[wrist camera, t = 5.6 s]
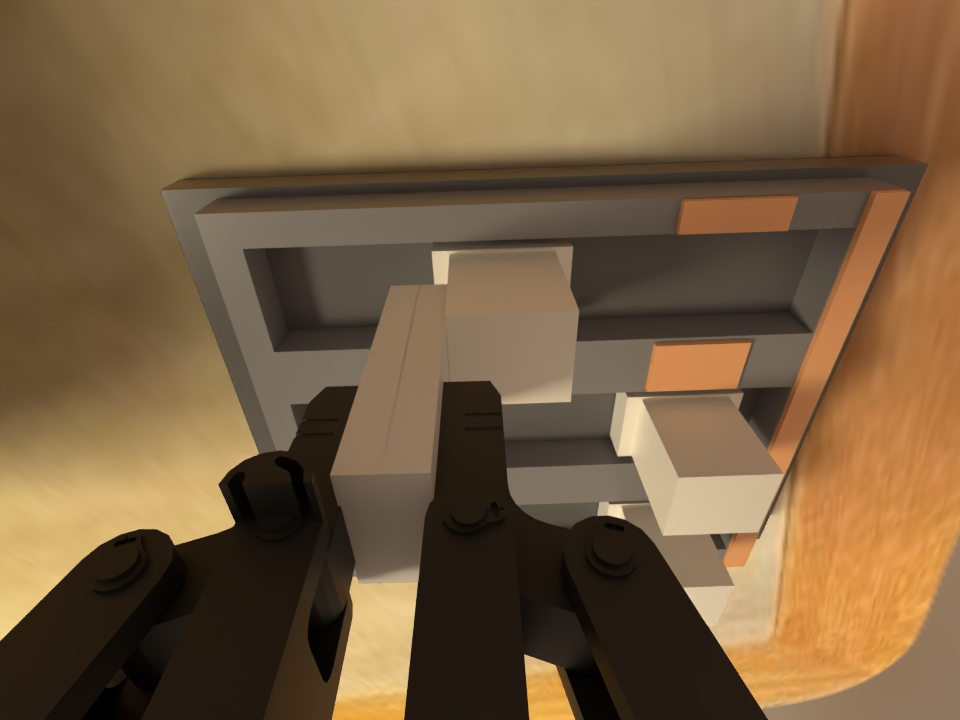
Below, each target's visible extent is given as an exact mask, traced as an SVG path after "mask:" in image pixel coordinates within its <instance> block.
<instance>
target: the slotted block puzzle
mask: <svg viewBox="0 0 960 720" xmlns="http://www.w3.org/2000/svg"><path fill="white" fill-rule="evenodd" d="M927 166H928V164H926V163H923V162H919V161H916V160H913V159H909V158H906V157H902V156H899V155H890V156H861V157H832V158H802V159H773V160H744V161H715V162H686V163H656V164H627V165H598V166H569V167H540V168H510V169H481V170H452V171H423V172H394V173H364V174H335V175H306V176H277V177H248V178H218V179H189V180H179V181H177V182H175V183H173V184H171V185H169V186H167V187H165V188H164V189H162V190H160V192H161V195H162V197H163V200H164V203H165V205H166V208H167V211H168V213H169V216H170V219H171V221H172V224H173V227H174V229H175V232H176V235H177V237H178V240H179V242H180V245H181V248H182V250H183V253H184V256H185V258H186V261H187V264H188V266H189V269H190V272H191V274H192V277H193V280H194V282H195V285H196V287H197V290H198V293H199V295H200V298H201V301H202V303H203V306H204V309H205V311H206V314H207V317H208V319H209V322H210V325H211V327H212V330H213V332H214V335H215V338H216V340H217V343H218V346H219V348H220V351H221V354H222V356H223V359H224V362H225V364H226V367H227V369H228V372H229V375H230V377H231V380H232V383H233V385H234V388H235V391H236V393H237V396H238V399H239V401H240V404H241V407H242V409H243V412H244V414H245V417H246V420H247V422H248V425H249V428H250V430H251V433H252V436H253V438H254V441H255V444H256V446H257V449H258V452H259V454H261V453H266V452H272V451H279V450H282V451H288V450H289V448H290V446H291V443H292V441H293V439H294V438H296V432H297V430H298V427H299V425H300V423H302V418H303V416H304V414H305V412H306V409H307V407H308V405H309V402H310V401H311V400H312V399H313V398H314V397H316V396H317V395H318V394H319V393H320V392H321V391H322V390H323V389H324V388H325V387H330V386H359V383H360V380H361V377H362V374H363V371H364V368H365V365H366V362H367V358H368V355H369V352H370V349H371V346H372V343H373V340H374V337H375V334H376V330H377V327H378V324H379V321H380V318H381V315H382V312H383V309H384V306H385V302H386V299H387V296H388V293H389V290H390V287H391V286H398V285H434V274H433V262H432V246H433V242H459V241H488V240H516V239H545V238H569V239H570V241H571V243H572V245H573V256H572V269H571V281H570V288H571V291H572V293H573V296H574V298H575V301H576V304H577V306H578V309H579V319H578V329H577V340H576V351H575V361H574V372H573V383H572V393H571V402H555V403H527V404H502V416H503V429H504V440H505V453H506V466H507V478H508V487H509V491H510V495H511V496H512V498H513V500H514V502H515V503H516V504H517V505H518V506H519V507H520V508H521V509H522V510H523V511H524V512H525V513H527V514H528V515H530V516H531V517H533V518H534V519H537V520H540V521H542V522H545V523H548V524H552V525H556V526H559V527H563V528H567V529H571V528H572V527H573V526H574V525H575V524H576V523H577V522H579V521H581V520H584V519H586V518H588V517H590V516H597V513H598V507H599V502H614V501H642V500H649V499H648V496H647V494H646V491H645V489H644V486H643V483H642V481H641V478H640V476H639V473H638V470H637V468H636V465H635V463H634V460H633V457H632V456H617V454H616V451H615V448H614V445H613V442H612V439H611V437H610V430H611V424H612V418H613V411H614V405H615V398H616V393H625V392H658V391H686V390H714V389H738V388H740V389H741V390H742V392H743V393H744V394H743V397H742V400H741V403H740V406H739V409H738V410H739V412H740V413H741V414H742V416H743V417H744V419H745V420H746V421H747V423H748V424H749V426H750V427H751V428H752V430H753V431H754V433H755V434H756V435H757V437H758V438H759V440H760V441H761V442H762V444H763V445H764V447H765V448H766V449H767V451H768V452H769V454H770V455H771V456H772V458H773V459H774V461H775V462H776V463H777V465H778V466H779V468H780V469H781V470H782V472H783V473H784V475H783V477H782V480H781V482H780V484H779V486H778V489H777V491H776V493H775V495H774V498H773V500H772V502H771V504H770V507H769V509H768V511H767V513H766V516H765V518H764V520H763V523H762V525H761V527H760V529H759V532H752V533H725V534H710V536H711V538H712V540H713V542H714V544H715V546H716V548H717V550H718V553H719V555H720V557H721V559H722V561H723V563H724V565H725V567H738V566H745V564H746V561H747V559H748V557H749V555H750V552H751V550H752V548H753V546H754V543H755V541H756V539H760V536H761V534H762V532H763V530H764V527H765V525H766V523H767V521H768V519H769V516H770V514H771V512H772V510H773V507H774V505H775V503H776V501H777V499H778V496H779V494H780V492H781V490H782V487H783V485H784V483H785V481H786V479H787V476H788V474H789V472H790V470H791V467H792V465H793V463H794V461H795V459H796V456H797V454H798V452H799V450H800V448H801V445H802V443H803V441H804V439H805V436H806V434H807V432H808V430H809V428H810V425H811V423H812V421H813V419H814V416H815V414H816V412H817V410H818V408H819V405H820V403H821V401H822V399H823V396H824V394H825V392H826V390H827V388H828V385H829V383H830V381H831V379H832V376H833V374H834V372H835V370H836V368H837V365H838V363H839V361H840V359H841V357H842V354H843V352H844V350H845V348H846V345H847V343H848V341H849V339H850V337H851V334H852V332H853V330H854V328H855V325H856V323H857V321H858V319H859V317H860V314H861V312H862V310H863V308H864V305H865V303H866V301H867V299H868V297H869V294H870V292H871V290H872V288H873V285H874V283H875V281H876V279H877V277H878V274H879V272H880V270H881V268H882V266H883V263H884V261H885V259H886V257H887V254H888V252H889V250H890V248H891V246H892V243H893V241H894V239H895V237H896V234H897V232H898V230H899V228H900V226H901V223H902V221H903V219H904V217H905V214H906V212H907V210H908V208H909V206H910V203H911V201H912V199H913V197H914V194H915V192H916V190H917V188H918V186H919V183H920V181H921V179H922V177H923V174H924V172H925V170H926V168H927ZM353 576H357V574H356V570H355V567H354V572H353ZM353 576H352V577H353Z"/></svg>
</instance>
